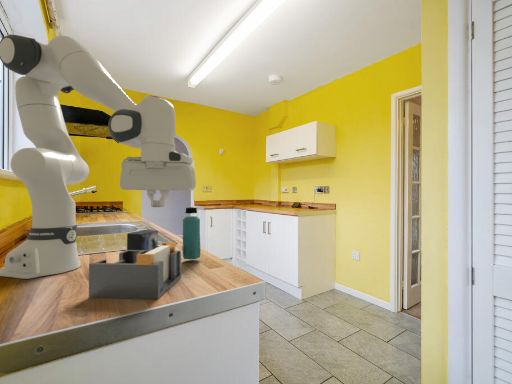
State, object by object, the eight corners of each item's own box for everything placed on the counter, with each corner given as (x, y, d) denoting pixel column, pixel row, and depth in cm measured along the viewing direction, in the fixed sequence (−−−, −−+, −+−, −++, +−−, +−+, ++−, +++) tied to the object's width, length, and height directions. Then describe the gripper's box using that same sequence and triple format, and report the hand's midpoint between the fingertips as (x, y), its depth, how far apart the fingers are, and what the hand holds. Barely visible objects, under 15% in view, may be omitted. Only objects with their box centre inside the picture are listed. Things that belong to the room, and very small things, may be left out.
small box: (141, 262, 88) (141, 233, 88) (125, 261, 90) (125, 233, 90) (158, 255, 99) (158, 229, 99) (144, 254, 100) (144, 229, 100)
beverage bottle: (204, 260, 92) (204, 207, 92) (192, 264, 86) (192, 207, 86) (190, 258, 95) (190, 206, 95) (178, 262, 88) (178, 207, 89)
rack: (88, 297, 58) (89, 254, 59) (125, 276, 73) (125, 241, 74) (158, 299, 58) (158, 255, 58) (180, 277, 73) (181, 242, 73)
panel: (143, 290, 60) (143, 253, 60) (161, 276, 70) (161, 245, 70) (153, 290, 60) (153, 254, 60) (169, 276, 70) (170, 245, 70)
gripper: (114, 154, 65) (114, 207, 65) (190, 155, 63) (189, 208, 63) (128, 158, 71) (127, 205, 71) (197, 158, 70) (197, 207, 70)
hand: (157, 207), depth 67 cm, fingers closed
